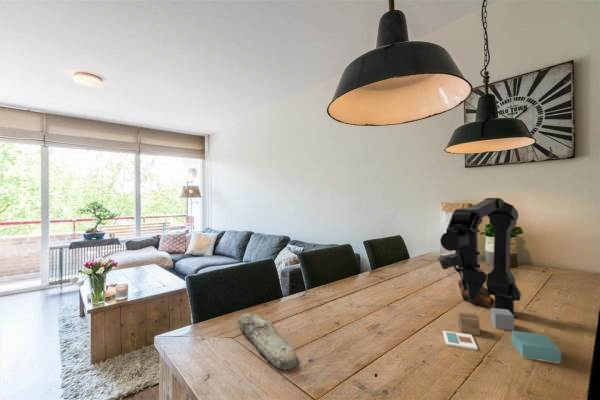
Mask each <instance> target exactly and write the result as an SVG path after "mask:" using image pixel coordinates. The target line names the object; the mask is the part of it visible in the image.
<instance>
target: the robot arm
mask: <svg viewBox="0 0 600 400" xmlns="http://www.w3.org/2000/svg"><path fill="white" fill-rule="evenodd" d="M485 217H487V218H489V224H490V226H491V227H492V228H493V230H494V237H493V238H494V240H493V242H494V243H493V268H492V270H491V271H490V272H488V273H486V272H485V271H483V270H482V269H481V265H480V264H479V256H480V253H481V252H480V251H479V244H478V242H479V241H478V233H480V231H481V230H480V229H479V226H480V225H481V223H482V222H483V221H484V220H483V218H485ZM518 218H519V212H518V210H517V209H516V208H515V207H514V205H512V204H510V203H508V202H506V201H504V199H502V198H500V197H487V198H484V199H483V200H482V201H480V202H478V203H475V204H474V205H472V206H469V207H461V208H456V209H454V210H453V213H452V214H451V217H450V219H449V222H448V224H447V228H446V230H445V233H443V234H442V235H441V237H440V239H439V241H440V244H441V247H442V248H443V249H444V250H446V251H449V252H453V251H454V253H450V254H446V255H444V256H438V262H439V264H440V266H441V268H442V269H443V270H448V269H449V268H452V267H453V269H454V271H456V272H457V273H458V274H459V278H460V280H461V282H462V285H463V289H464V290H468V293H469V297H470V300H475V298H476V296H477V294H478V292H479V291H480V289H481V287H482V286H483V287H484V284H486V289H487V290H488V294H489V295H490V296H494V306H493V307H491V308H497V309H506V310H509V311H510V312H511V313H512V314H513V316H514V318H519V316H518V314H517V313H516V312H515V302H516V301H517V302H518V301H519V302H520V301H521V294H522V292H521V290H520V289H519V287H518V286H517V284H516V277H514V275H513V274H512V271H511V269H510V267H511V262H510V261H511V233H512V232H511V231H512V230H513V229H514V228H515V227H516V226H517V221H518ZM470 300H469V301H470Z"/></svg>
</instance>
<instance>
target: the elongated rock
mask: <svg viewBox="0 0 600 400" xmlns="http://www.w3.org/2000/svg"><path fill="white" fill-rule="evenodd" d="M237 324H238V325H239V327H240V329H241V331H242V332H243V333H244V336H246V338H248V339H249V340H250V342H251V343H253V345H254V346H255V347H256V349H257V351H259V352H260V353H261V354H262V355H263V356H264V357H265V359H267V360H268V362H269V361H270V362H269V363H270V364H272V366H273V367H276V368H277V369H279V370H282V369H283V370H284V371H285V370H286V371H288V370H291V369H293V367H294V368H296V365H297V363H298V359H297V354H296V351H295V348H293V347H292V346H291V345H290V344H289V343H288V341H287V340H286V338H284V337H283V336H282V335H281V334H280V332H279V331H278V330H277V329H276V327H275V326H274V324H273V323H272V322H271V321H269V320H267V319H266V318H264V317H263V316H260V315H258V314H257V313H252V312H247V313H243V314H241V316H239V317H238V323H237ZM287 369H288V370H287Z"/></svg>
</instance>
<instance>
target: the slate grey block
mask: <svg viewBox="0 0 600 400" xmlns="http://www.w3.org/2000/svg"><path fill="white" fill-rule="evenodd" d="M514 319H515V317H514V316H513V314H512V313H511V312H510V311H509V310H506V309H497V308H492V307H490V322H491V324H492V323H493V324H492V325H493V327H494V326H495V327H494V328H495V329H496V328H499V329H498V330H504V329H506V330H505V331H511V330H514V331H515V323H514V322H515V320H514Z"/></svg>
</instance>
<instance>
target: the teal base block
mask: <svg viewBox="0 0 600 400" xmlns="http://www.w3.org/2000/svg"><path fill="white" fill-rule="evenodd" d="M512 343H513V344H514V345H513V344H512ZM511 344H512V345H513V347H514V346H515V347H516V348H517V349H516V348H515V347H514V348H515V349H516V351H517V350H518V351H519V352H520V354H521V355H522V356H523V357H527V358H534V359H542V360H547V361H552V362H553V361H554V362H560V363H561V364H562V352H561V348H560V347H558V345H557V344H555V342H554V341H553V340H551V339H550V338H549V337H548V336H547V335H546V334H541V333H540V334H539V333H534V332H525V331H520V330H519V331H518V330H517V331H516V330H514V331H511ZM518 351H517V352H518ZM519 352H518V353H519ZM520 354H519V355H520ZM521 355H520V356H521ZM522 356H521V357H522Z"/></svg>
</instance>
